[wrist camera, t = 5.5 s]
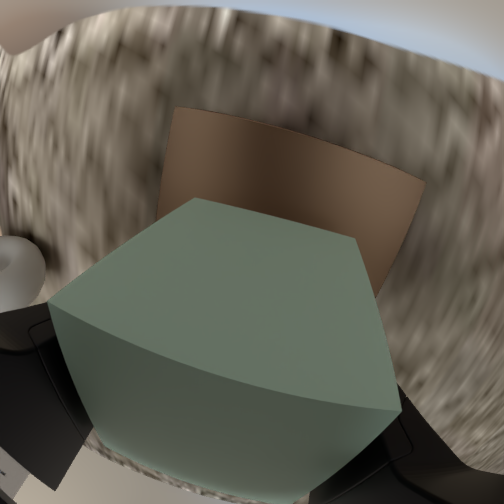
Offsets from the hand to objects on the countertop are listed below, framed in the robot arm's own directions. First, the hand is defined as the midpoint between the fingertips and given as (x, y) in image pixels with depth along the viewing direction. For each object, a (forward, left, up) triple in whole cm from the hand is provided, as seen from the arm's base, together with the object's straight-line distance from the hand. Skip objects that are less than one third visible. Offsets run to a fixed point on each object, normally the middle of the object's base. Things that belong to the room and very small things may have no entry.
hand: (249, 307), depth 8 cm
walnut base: (0, 0, -8) cm, 8 cm away
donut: (+20, +7, -7) cm, 23 cm away
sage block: (0, 0, -1) cm, 1 cm away
